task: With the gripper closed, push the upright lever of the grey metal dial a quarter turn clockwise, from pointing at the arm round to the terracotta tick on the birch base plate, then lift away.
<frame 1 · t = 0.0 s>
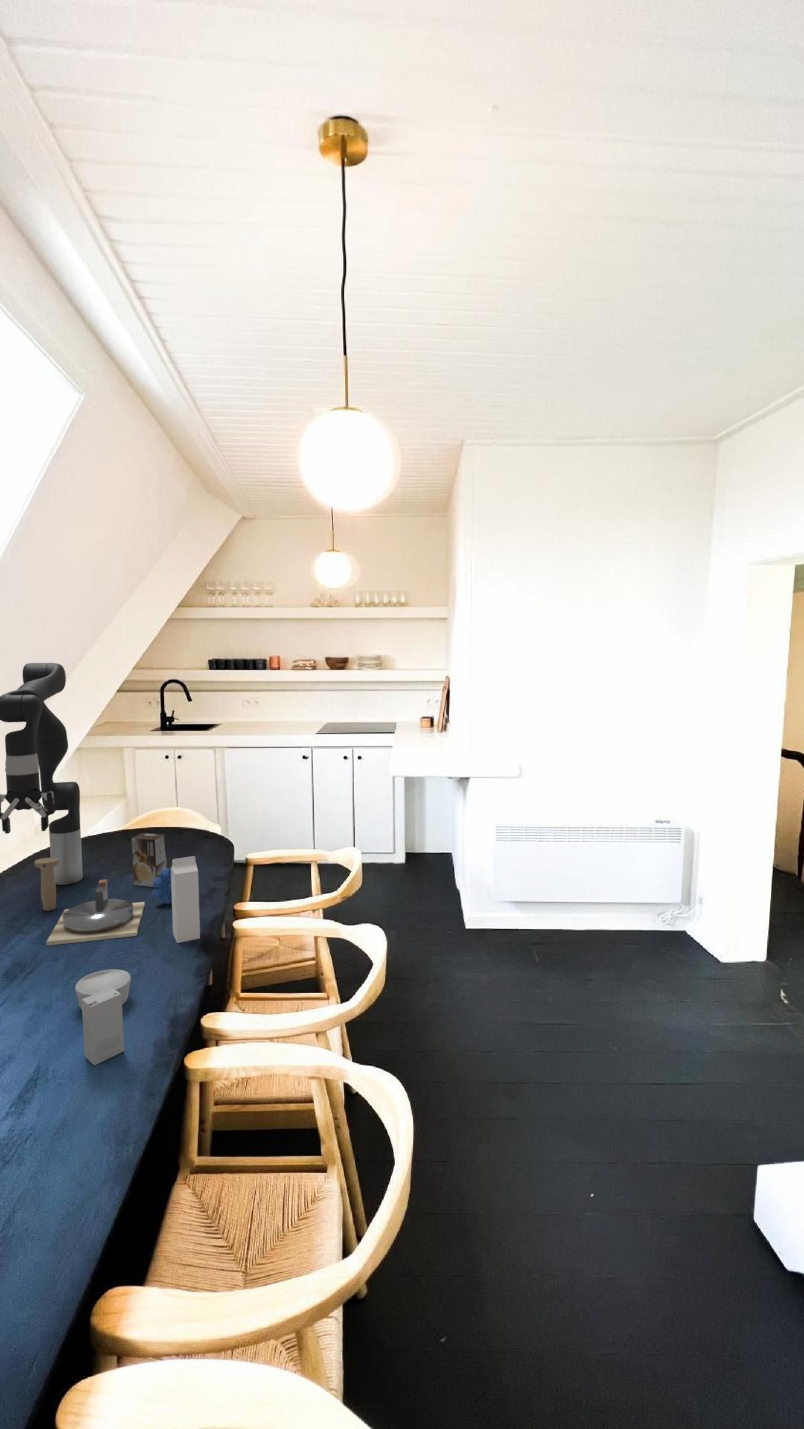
hand: (26, 831, 173), 29 cm above the table, fingers open, 8 cm apart
base plate: (99, 923, 185), on the table
coffee box: (150, 883, 217), on the table
ramekin: (104, 1004, 145), on the table
dial: (98, 904, 185), point 5 cm above the table, hinge at 0.0°
grapes: (172, 902, 201), on the table
handle: (49, 909, 195), on the table
skincare box: (104, 1056, 126), on the table
milk: (186, 937, 178), on the table
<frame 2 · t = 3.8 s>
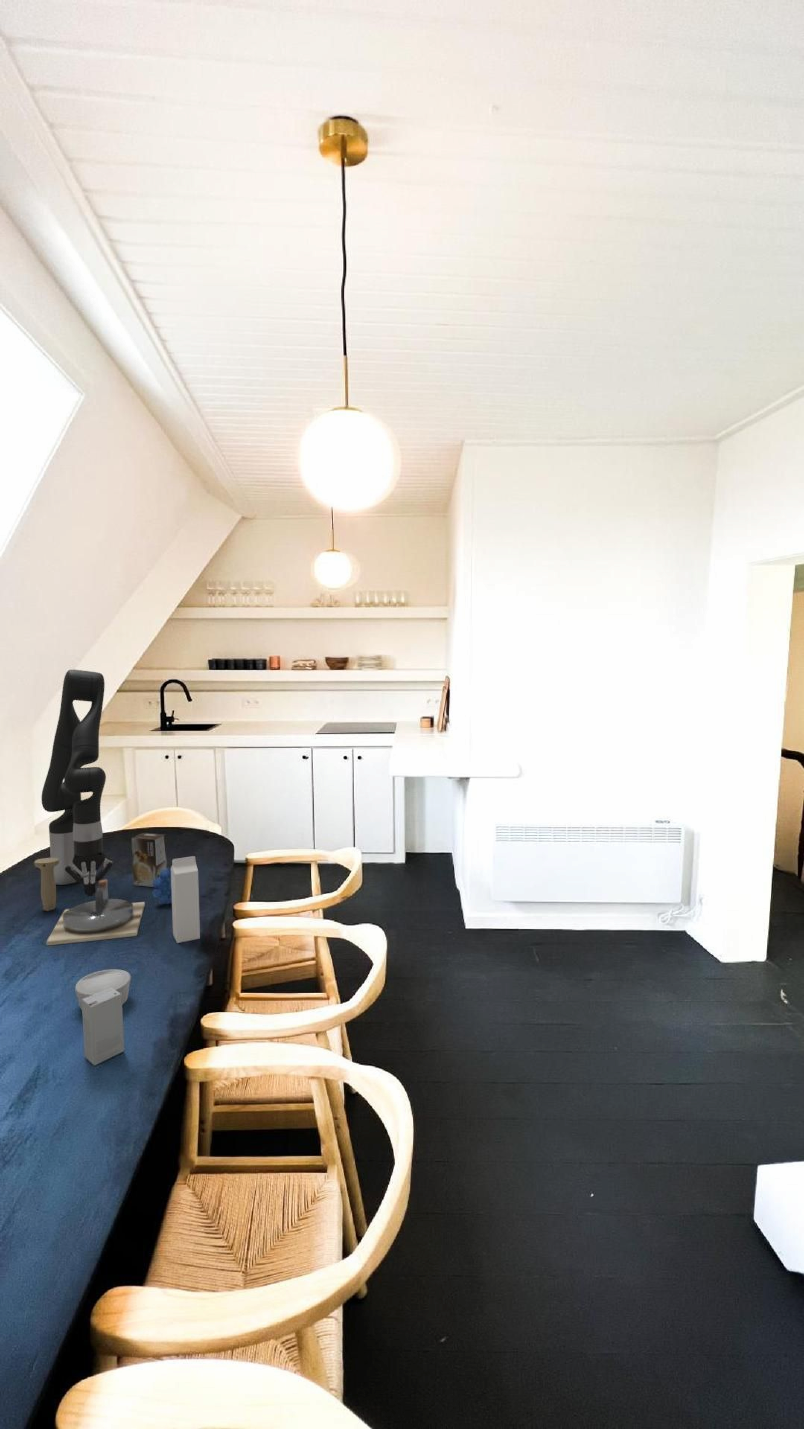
hand: (90, 895, 189), 7 cm above the table, fingers closed
dial: (98, 904, 185), point 5 cm above the table, hinge at -0.5°, touching gripper
everything else where it was.
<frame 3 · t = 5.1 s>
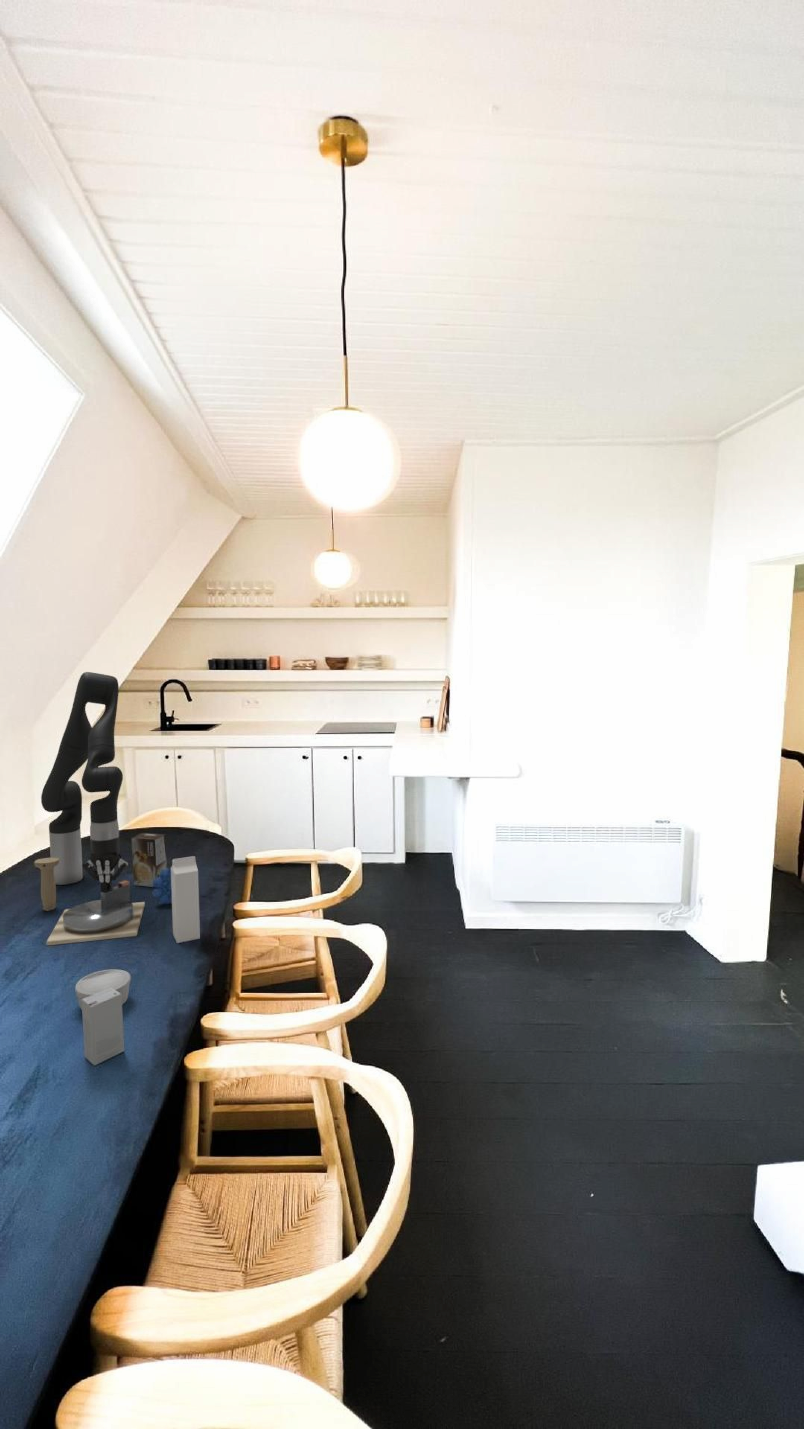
hand: (106, 893, 190), 7 cm above the table, fingers closed
dial: (99, 905, 185), point 5 cm above the table, hinge at -46.2°, touching gripper
everything else where it was.
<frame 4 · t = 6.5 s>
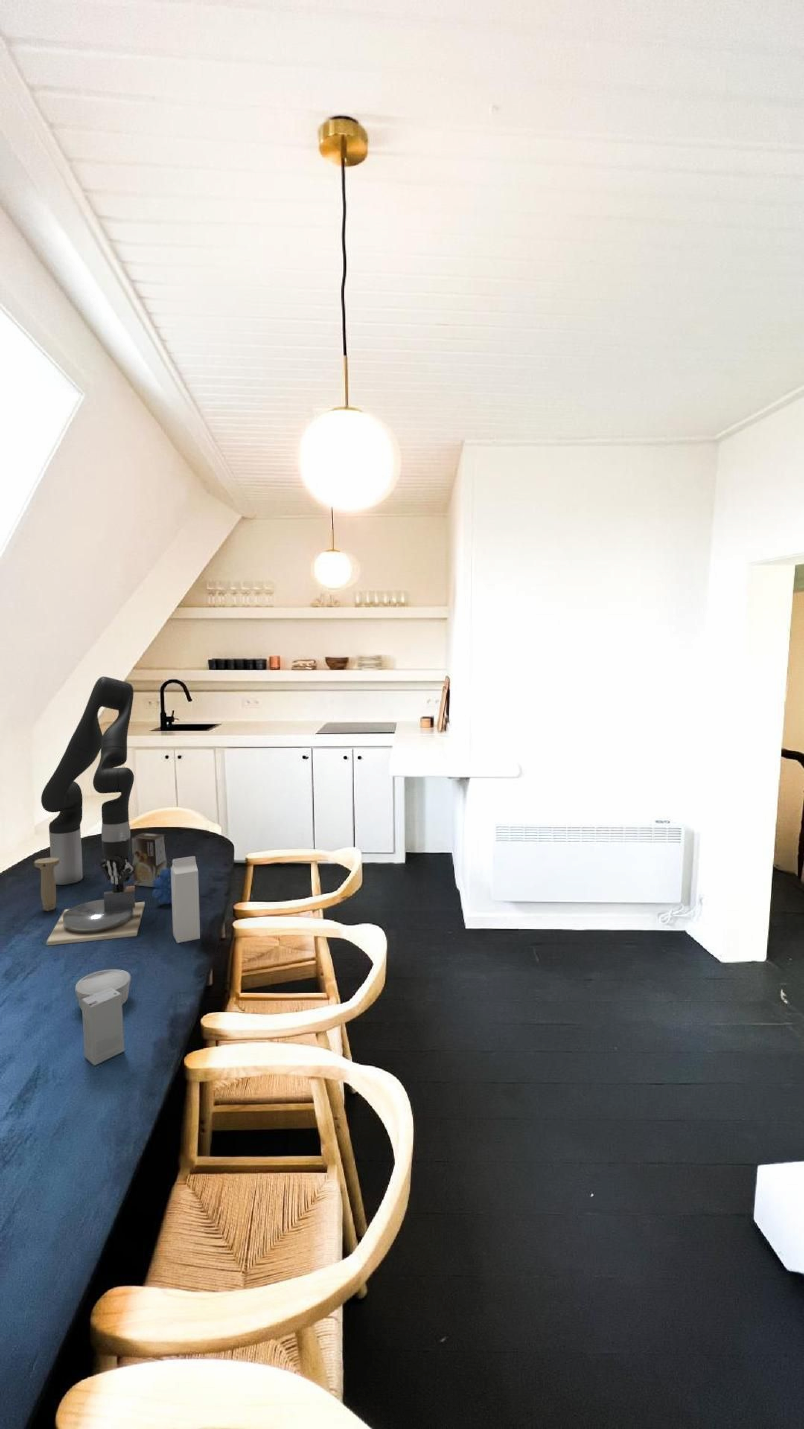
hand: (118, 895, 189), 6 cm above the table, fingers closed
dial: (99, 905, 185), point 5 cm above the table, hinge at -83.2°
everything else where it was.
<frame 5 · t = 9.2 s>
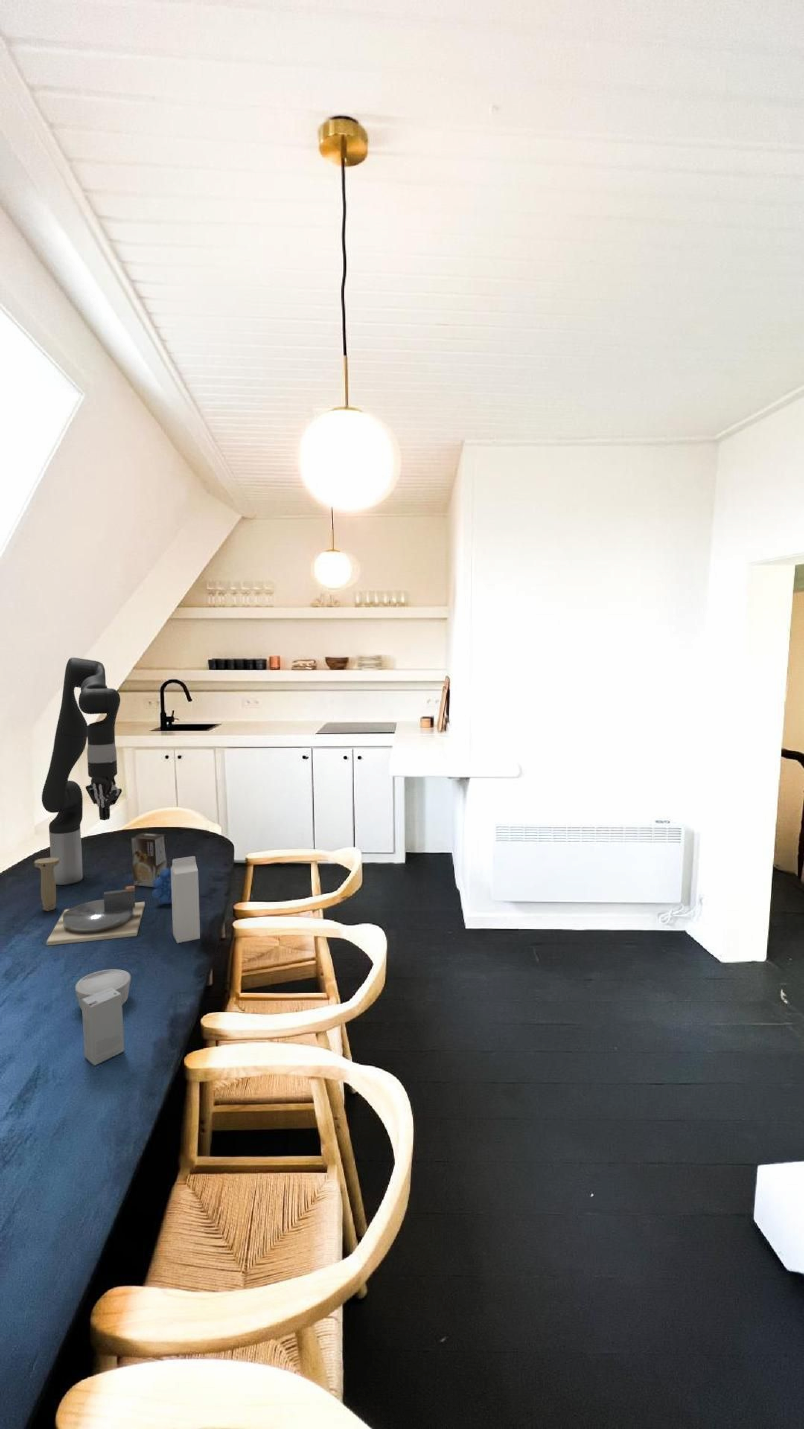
hand: (104, 819, 187), 29 cm above the table, fingers closed
nothing on the table moved.
at the end: dial at -83° (first picture: +0°) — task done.
